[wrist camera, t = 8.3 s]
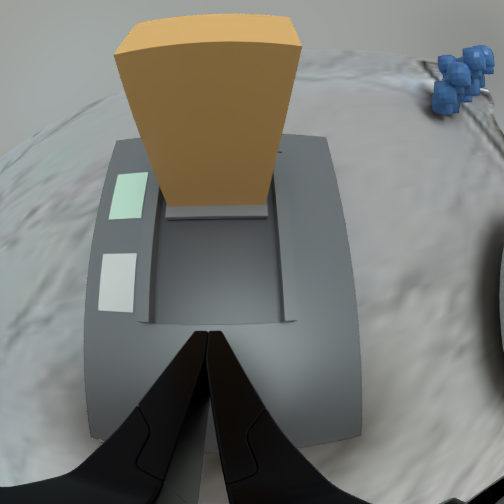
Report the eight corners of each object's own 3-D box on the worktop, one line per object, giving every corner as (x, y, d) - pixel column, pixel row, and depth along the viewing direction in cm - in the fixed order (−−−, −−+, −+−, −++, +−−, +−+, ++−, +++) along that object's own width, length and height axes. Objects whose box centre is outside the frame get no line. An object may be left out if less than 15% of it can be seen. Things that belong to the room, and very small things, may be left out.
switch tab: (267, 218, 14) (309, 56, 5) (166, 219, 14) (103, 66, 5) (263, 162, 15) (289, 12, 6) (173, 164, 15) (139, 17, 6)
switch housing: (343, 424, 13) (369, 440, 10) (109, 426, 12) (82, 441, 9) (316, 159, 19) (330, 127, 16) (126, 162, 18) (111, 131, 15)
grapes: (436, 85, 27) (470, 28, 15) (469, 118, 25) (510, 64, 14) (397, 91, 24) (438, 14, 13) (438, 133, 22) (493, 59, 11)
